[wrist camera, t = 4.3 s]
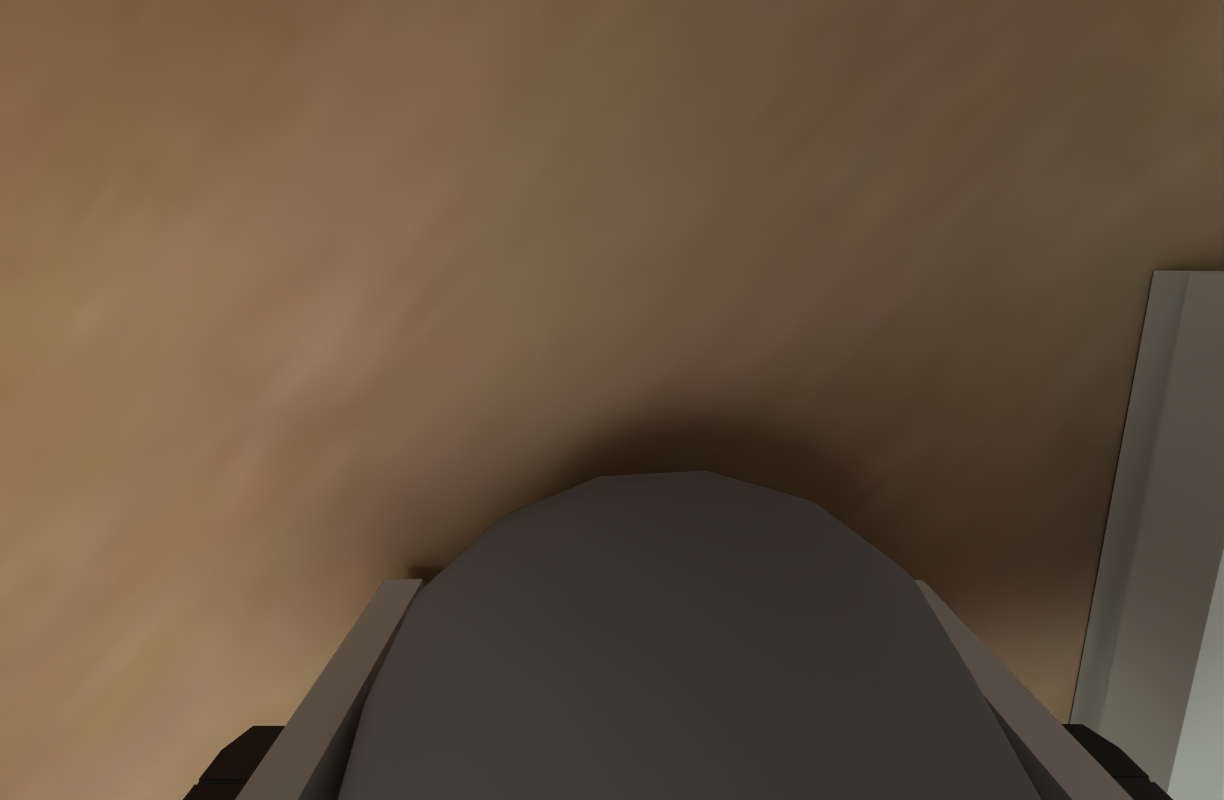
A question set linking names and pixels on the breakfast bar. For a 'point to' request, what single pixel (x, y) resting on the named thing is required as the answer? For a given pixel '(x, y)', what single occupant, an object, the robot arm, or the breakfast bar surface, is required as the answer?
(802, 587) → the cup
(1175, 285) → the tray
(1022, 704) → the robot arm
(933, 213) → the breakfast bar surface
